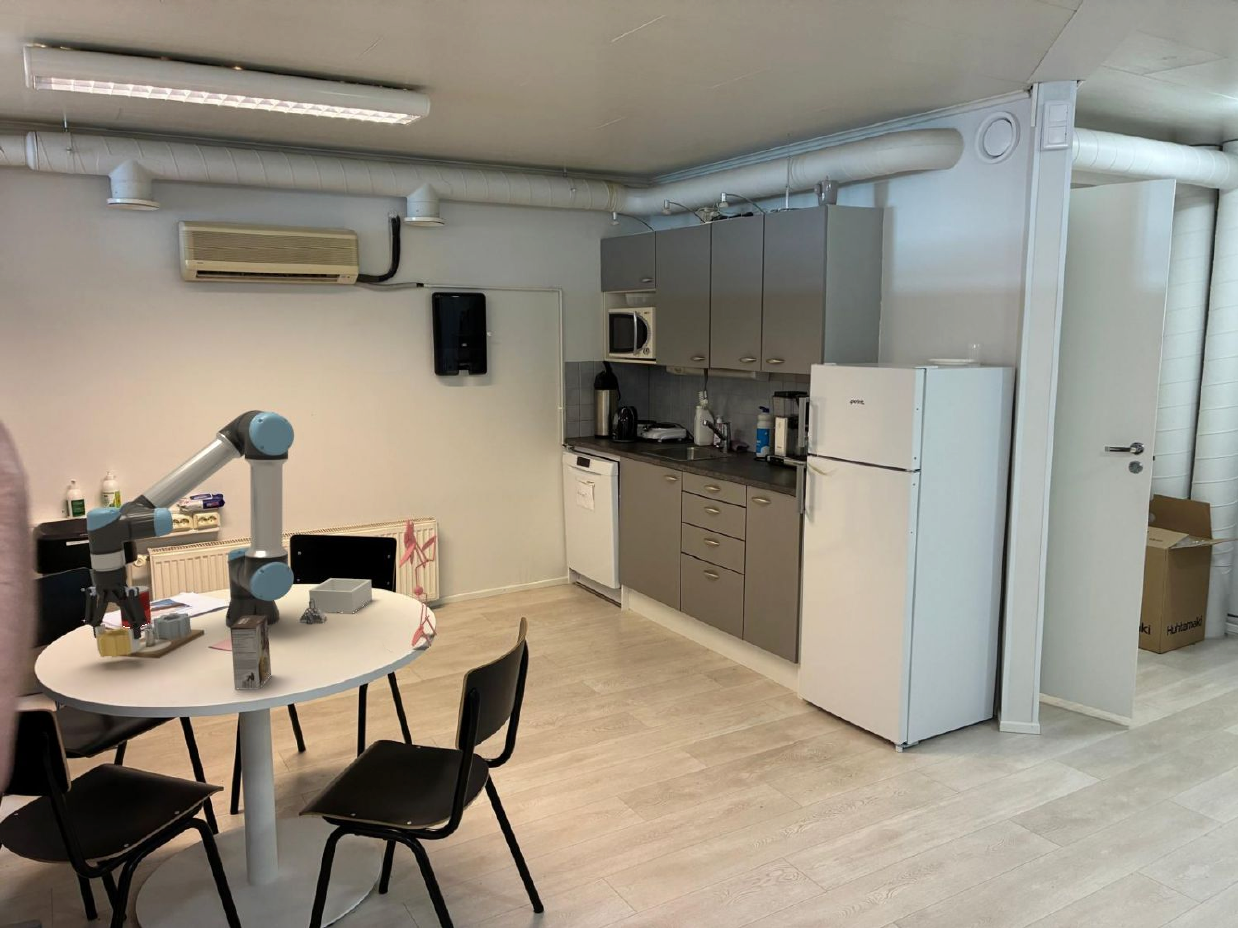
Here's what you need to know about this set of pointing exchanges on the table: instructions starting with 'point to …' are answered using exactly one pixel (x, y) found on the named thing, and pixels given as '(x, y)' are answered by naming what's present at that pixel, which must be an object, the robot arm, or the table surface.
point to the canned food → (145, 603)
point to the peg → (149, 636)
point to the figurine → (418, 590)
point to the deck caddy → (341, 595)
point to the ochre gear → (114, 642)
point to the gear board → (164, 645)
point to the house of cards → (313, 614)
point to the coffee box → (250, 651)
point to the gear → (172, 626)
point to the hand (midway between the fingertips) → (119, 649)
